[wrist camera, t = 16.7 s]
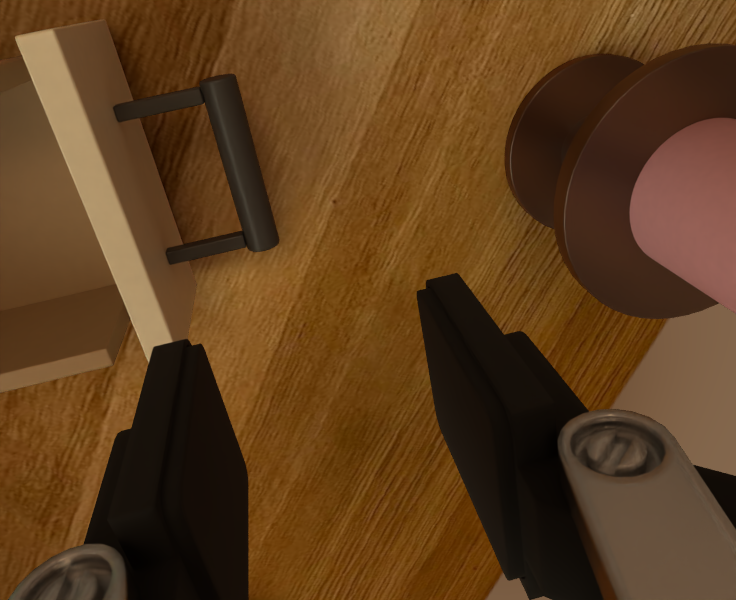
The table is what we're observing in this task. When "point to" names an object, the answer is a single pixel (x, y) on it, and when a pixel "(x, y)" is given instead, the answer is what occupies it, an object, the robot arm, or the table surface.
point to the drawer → (100, 207)
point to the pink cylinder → (692, 207)
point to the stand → (613, 163)
